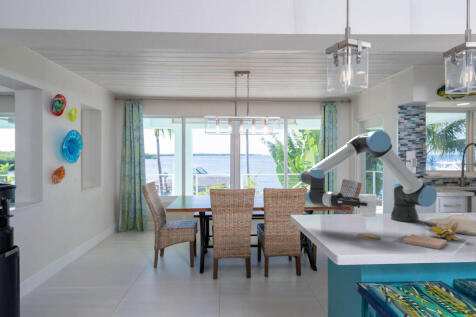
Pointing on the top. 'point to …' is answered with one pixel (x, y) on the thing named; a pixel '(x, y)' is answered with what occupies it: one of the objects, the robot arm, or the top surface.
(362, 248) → the top surface
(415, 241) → the tile
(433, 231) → the decorative flower
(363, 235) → the coaster
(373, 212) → the white cup
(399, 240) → the mat
